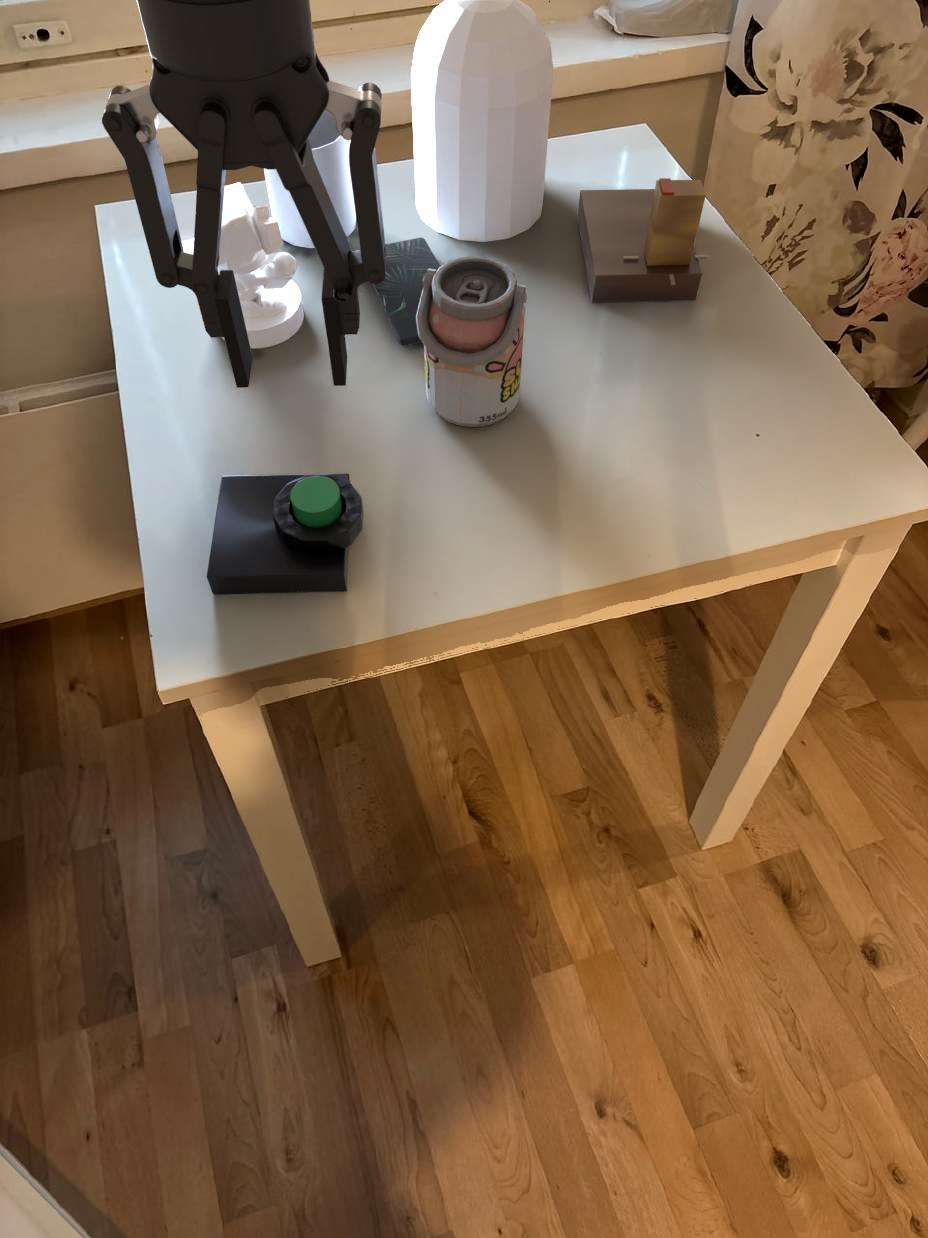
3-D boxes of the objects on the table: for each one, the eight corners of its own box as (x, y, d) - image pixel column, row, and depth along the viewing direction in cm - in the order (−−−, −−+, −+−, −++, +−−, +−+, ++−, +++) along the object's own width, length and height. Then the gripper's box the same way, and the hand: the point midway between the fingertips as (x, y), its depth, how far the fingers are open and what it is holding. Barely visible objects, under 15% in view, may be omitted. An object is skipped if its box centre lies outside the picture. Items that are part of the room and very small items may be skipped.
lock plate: (710, 311, 90) (717, 282, 87) (593, 313, 90) (597, 284, 87) (683, 215, 99) (689, 186, 96) (577, 216, 98) (580, 188, 96)
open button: (341, 527, 70) (338, 512, 68) (292, 528, 70) (288, 513, 68) (343, 491, 72) (340, 475, 70) (295, 492, 72) (292, 476, 70)
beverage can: (504, 450, 79) (511, 333, 69) (408, 430, 81) (401, 312, 71) (530, 377, 84) (540, 259, 75) (439, 359, 86) (437, 241, 76)
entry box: (363, 591, 71) (359, 558, 68) (212, 594, 71) (200, 561, 67) (367, 491, 77) (363, 456, 73) (227, 494, 76) (216, 459, 73)
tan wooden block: (685, 249, 90) (701, 176, 84) (689, 265, 89) (706, 192, 83) (643, 249, 90) (656, 177, 84) (647, 265, 89) (660, 193, 83)
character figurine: (309, 340, 87) (290, 221, 77) (205, 356, 86) (172, 236, 76) (297, 282, 92) (277, 163, 82) (198, 296, 91) (166, 176, 81)
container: (567, 221, 98) (589, 9, 81) (450, 256, 94) (448, 41, 78) (506, 157, 105) (515, -52, 88) (395, 186, 101) (383, -24, 85)
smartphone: (423, 235, 95) (472, 325, 87) (424, 244, 96) (472, 334, 87) (357, 248, 94) (400, 341, 85) (358, 257, 94) (400, 350, 86)
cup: (352, 248, 95) (342, 151, 87) (270, 247, 95) (252, 150, 87) (358, 200, 100) (349, 103, 92) (280, 199, 100) (264, 102, 92)
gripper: (428, -87, 43) (437, 330, 62) (20, -84, 43) (155, 335, 62) (429, -13, 39) (439, 410, 58) (-23, -9, 38) (136, 416, 58)
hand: (292, 371), depth 60 cm, fingers open, 5 cm apart
